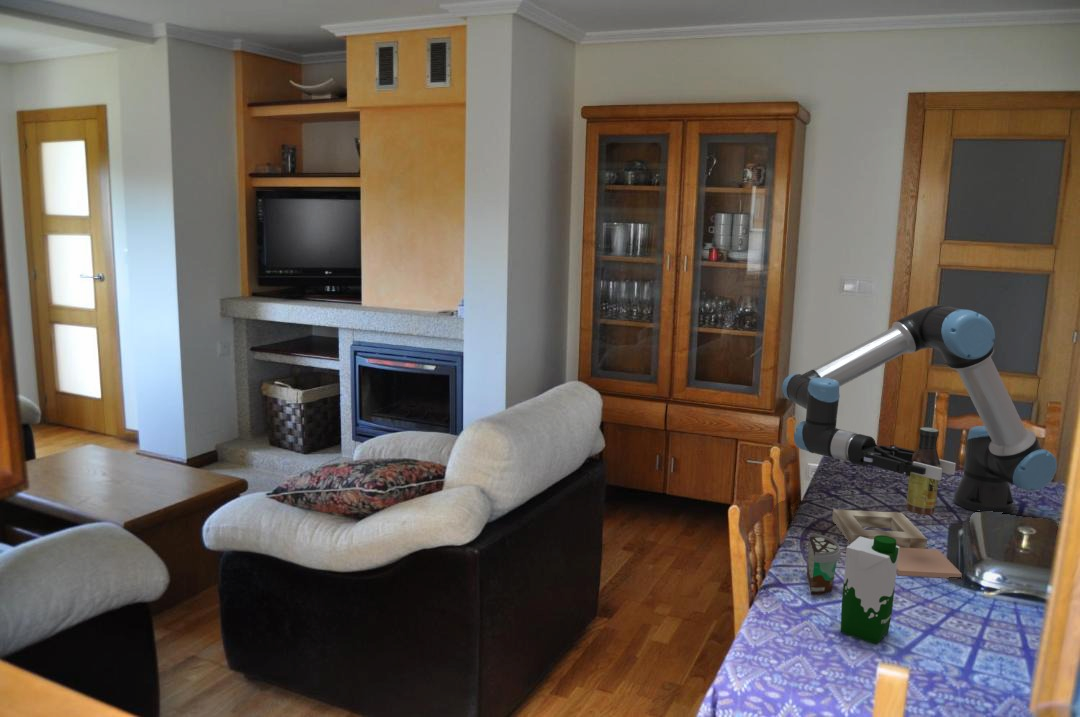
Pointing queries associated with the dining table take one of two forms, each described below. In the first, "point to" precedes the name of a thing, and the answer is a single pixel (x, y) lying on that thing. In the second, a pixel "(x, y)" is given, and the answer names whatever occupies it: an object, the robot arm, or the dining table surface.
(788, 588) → the dining table surface
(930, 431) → the sauce bottle
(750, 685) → the dining table surface
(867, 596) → the milk carton
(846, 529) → the bottle stand
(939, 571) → the terracotta tile
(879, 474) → the dining table surface
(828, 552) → the food container
